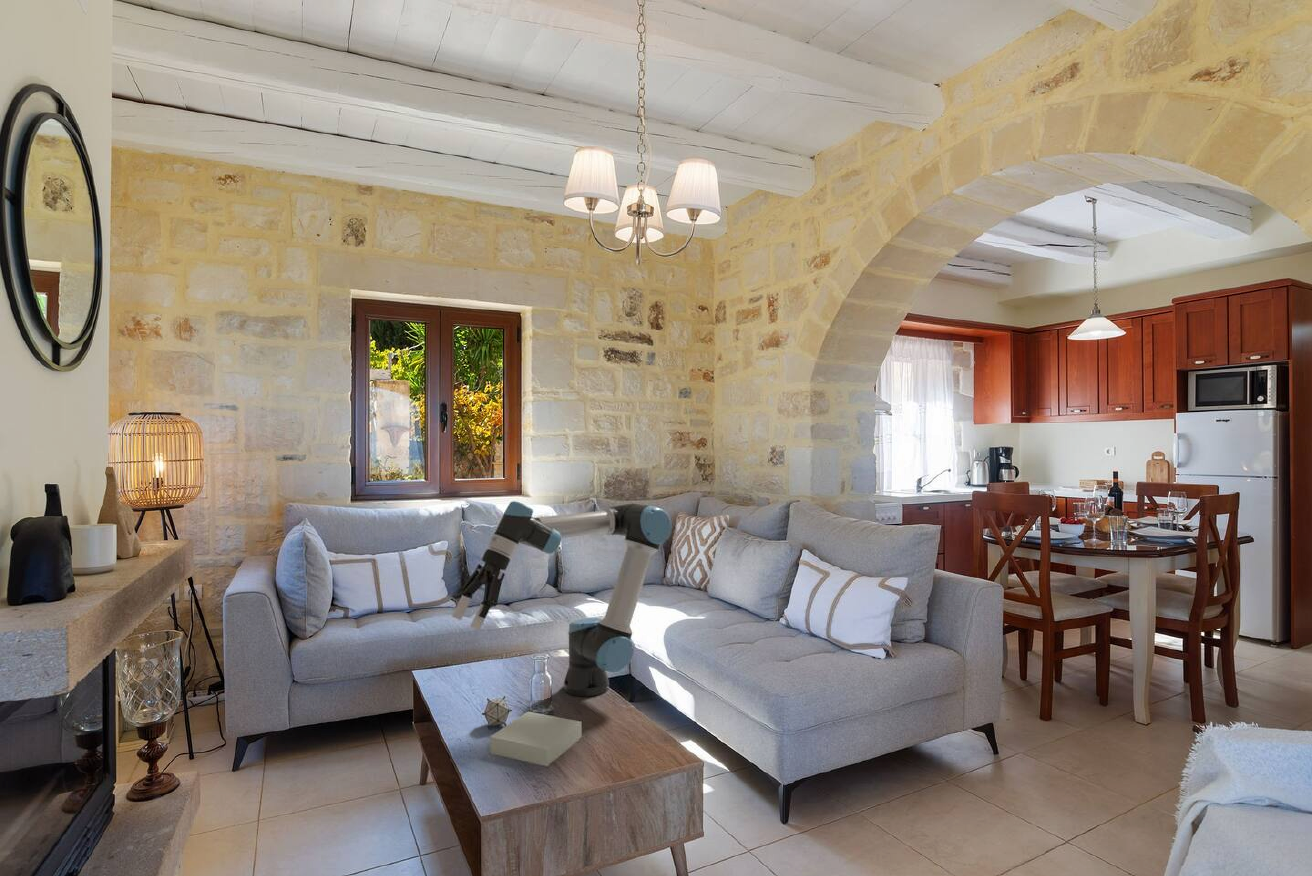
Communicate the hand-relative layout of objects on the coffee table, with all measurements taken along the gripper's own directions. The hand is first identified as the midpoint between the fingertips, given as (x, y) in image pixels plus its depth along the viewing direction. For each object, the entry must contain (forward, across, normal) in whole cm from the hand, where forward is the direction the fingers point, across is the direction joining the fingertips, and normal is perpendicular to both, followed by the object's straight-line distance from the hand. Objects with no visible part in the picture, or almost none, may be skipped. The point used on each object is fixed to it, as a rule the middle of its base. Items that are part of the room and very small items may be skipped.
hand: (465, 623), depth 195 cm
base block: (+22, +13, +30) cm, 39 cm away
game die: (+24, -5, +26) cm, 36 cm away
